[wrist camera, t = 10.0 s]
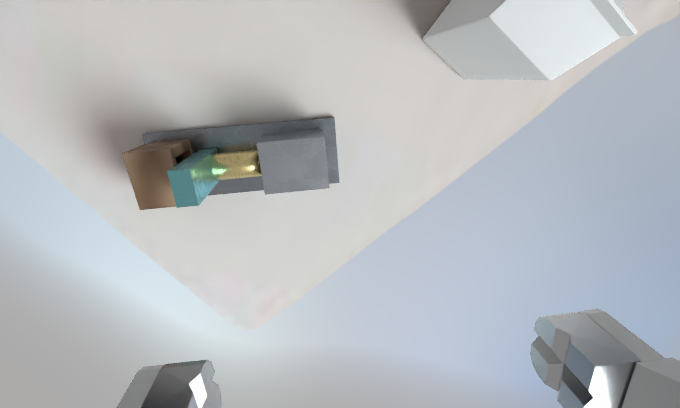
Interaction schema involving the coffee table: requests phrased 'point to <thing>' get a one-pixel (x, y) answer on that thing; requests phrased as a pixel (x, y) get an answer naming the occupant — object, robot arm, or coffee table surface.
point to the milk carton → (524, 36)
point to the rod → (209, 173)
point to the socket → (154, 171)
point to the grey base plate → (271, 153)
